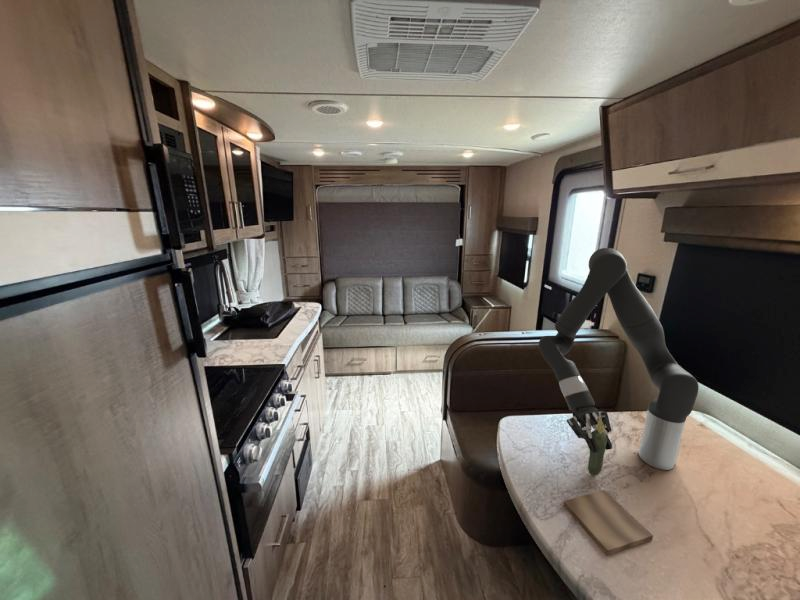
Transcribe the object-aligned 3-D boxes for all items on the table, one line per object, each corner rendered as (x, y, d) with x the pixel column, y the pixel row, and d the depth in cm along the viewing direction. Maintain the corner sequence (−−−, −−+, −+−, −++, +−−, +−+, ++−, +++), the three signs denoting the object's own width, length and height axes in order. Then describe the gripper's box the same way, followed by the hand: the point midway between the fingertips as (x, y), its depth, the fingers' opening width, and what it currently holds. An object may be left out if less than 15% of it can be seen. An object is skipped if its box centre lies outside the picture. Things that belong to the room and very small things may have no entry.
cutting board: (603, 493, 91) (604, 489, 90) (652, 539, 78) (653, 535, 77) (563, 505, 87) (563, 500, 87) (606, 555, 74) (607, 550, 74)
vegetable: (602, 483, 94) (612, 426, 89) (586, 481, 95) (596, 424, 90) (596, 471, 98) (606, 416, 93) (581, 469, 99) (590, 415, 94)
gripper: (564, 393, 96) (591, 454, 87) (602, 386, 99) (631, 444, 91) (550, 399, 102) (574, 456, 94) (586, 392, 105) (612, 447, 97)
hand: (602, 450), depth 92 cm, fingers closed on vegetable, 4 cm apart
